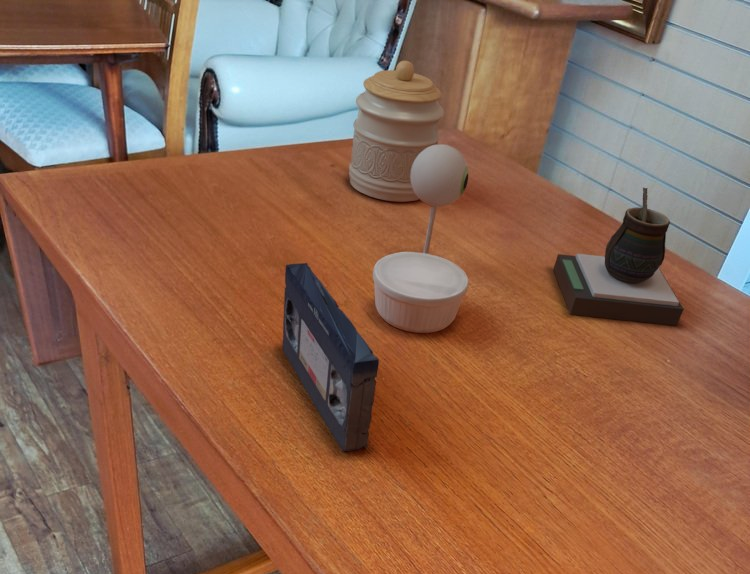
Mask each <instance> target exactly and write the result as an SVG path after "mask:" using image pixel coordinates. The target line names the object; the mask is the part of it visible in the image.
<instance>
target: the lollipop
mask: <svg viewBox="0 0 750 574" xmlns="http://www.w3.org/2000/svg"><path fill="white" fill-rule="evenodd" d="M410 177H411V185H412V188H413V190H414V192H415V194H416V195H417V197H418V198H419V200H420V201H421V202H423V204H426V205H428V206H430V213H429V217H428V223H427V229H426V235H425V239H424V240H425V241H424V246H423V252H422V253H426V254H429V251H430V247H431V241H432V235H433V229H434V224H435V219H436V212H437V208H441V207H447V206H450V205H453V203H455V202H456V201H458V200H459V199H460V198H461V196H462V195H463V194H464V192H465V191H466V188H467V186H468V182H469V166H468V163H467V161H466V159H465V157H464V156H463V155H462V153H461V152H460V151H459V150H458V149H456V148H455V147H453V146H451V145H448V144H443V143H442V144H441V143H440V144H437V145H432V146H430V147H428V148H426V149H424V150H423V151H422V152H421V153H420V154H419V155H418V156H417V157H416V159H415V160H414V162H413V165H412V168H411V176H410Z"/></svg>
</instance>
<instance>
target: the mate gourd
mask: <svg viewBox="0 0 750 574" xmlns="http://www.w3.org/2000/svg"><path fill="white" fill-rule="evenodd" d="M670 224H671V221H670V219H669V218H668V216H666V215H665V214H663V213H662V212H659V211H656V210H653V209H650V208H648V187H642V207H638V206H637V207H630V208H627V209H626V210H625V212H624V216H623V219H622V223H621V225H620V226H619V228H617V230H616V231H615V232H614V233H613V234H612V236H611V237H610V239H609V240H608V242H607V244H606V246H605V251H604V252H605V253H604V257H605V266H606V269H607V271H608V273H609V275H611V276H613V277H614V278H615V279H617V280H620V281H623V282H626V283H633V284H635V283H641V282H643V281H645V280H647V279H649V278H650V277H652V276H653V275H654V273H655V271H657V269H658V268H659V269H660V267H661V266H662V264H663V263H664V260H665V255H666V242H667V241H666V238H667V232H668V229H669V227H670Z"/></svg>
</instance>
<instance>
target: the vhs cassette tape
mask: <svg viewBox="0 0 750 574" xmlns="http://www.w3.org/2000/svg"><path fill="white" fill-rule="evenodd" d="M284 284H285V287H284V300H283V321H282V351H283V353H284V355H285V357H286V358H287V360H288V362H289V364H290V366H291V368H292V369H293V371H294V373H295V374H296V376H297V377H298V379H299V381H300V382H301V384H302V386H303V388H304V389H305V391H306V393H307V395H308V396H309V398H310V400H311V401H312V403H313V405H314V407H315V408H316V410H317V412H318V414H319V415H320V416H321V418H322V420H323V421H324V423H325V425H326V426H327V428H328V430H329V431H330V433H331V435H332V436H333V438H334V439H335V441H336V443H337V444H338V446H339V447H340V449H341V451H342V452H348V451H357V450H361V449H363V448H364V449H366V448H368V443H369V435H370V432H369V430H370V426H371V422H372V418H373V417H372V416H373V415H372V413H373V407H374V402H375V394H376V393H375V392H376V386H377V381H376V378H378V373H379V372H378V371H379V367H380V366H379V365H380V359H379V358H378V356H376V355H375V354H374V352H373V350H372V348H371V347H370V346H369V344H368V343H367V341H366V340H365V338H363V336H362V335H361V334H360V333H359V332H358V331H357V328H356V327H355V326H354V324H353V322H352V321H351V320H350V318H349V317H348V316H347V315H346V313H345V312H344V311H343V310H342V309H341V308H340V306H339V304H338V302H337V301H336V300H335V298H334V297H333V296H332V295H331V293H330V292H329V291H328V289H327V288H326V287H325V285H324V284H323V282H322V281H321V280H320V279H319V278H318V276H316V275H315V273H314V272H313V270H312V268H311V266H310V265H309V264H308V263H307V262H304V263H303V262H302V263H289V264H285V271H284Z"/></svg>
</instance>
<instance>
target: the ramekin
mask: <svg viewBox="0 0 750 574" xmlns="http://www.w3.org/2000/svg"><path fill="white" fill-rule="evenodd" d="M372 280H373V283H374V284H373V285H374V305H375V309H376V311H377V313H378V315H379V316H380V317H381V319H383V321H384V322H386V323H387V324H389V325H390V326H392V327H394V328H396V329H399V330H402V331H405V332H410V333H414V334H415V333H416V334H430V333H435V332H439V331H442V330H444V329H445V328H447V327H448V326H450V325H451V324H452V323H453V321H454V320H455V319H456V316H457V314H458V312H459V309H460V307H461V304H462V302H463V299H464V297H465V296H466V294H467V292H468V289H469V277H468V274H467V273H466V272H465V271H464V269H462V268H461V266H459V265H458V264H456V263H454V262H453V261H451V260H449V259H446V258H444V257H443V256H442V257H441V256H438V255H434V254H431V253H428V254H426V253H423V252H417V251H399V252H394V253H390V254H387V255H385V256H383V257H381V258H380V259H379V260H377V261H376V262H375V264H374V266H373V270H372Z"/></svg>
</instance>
